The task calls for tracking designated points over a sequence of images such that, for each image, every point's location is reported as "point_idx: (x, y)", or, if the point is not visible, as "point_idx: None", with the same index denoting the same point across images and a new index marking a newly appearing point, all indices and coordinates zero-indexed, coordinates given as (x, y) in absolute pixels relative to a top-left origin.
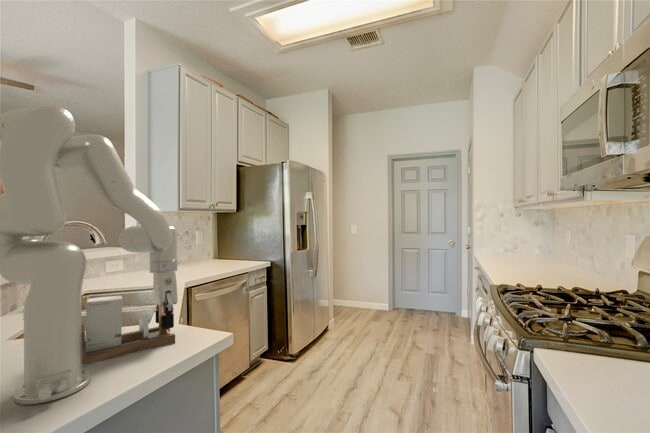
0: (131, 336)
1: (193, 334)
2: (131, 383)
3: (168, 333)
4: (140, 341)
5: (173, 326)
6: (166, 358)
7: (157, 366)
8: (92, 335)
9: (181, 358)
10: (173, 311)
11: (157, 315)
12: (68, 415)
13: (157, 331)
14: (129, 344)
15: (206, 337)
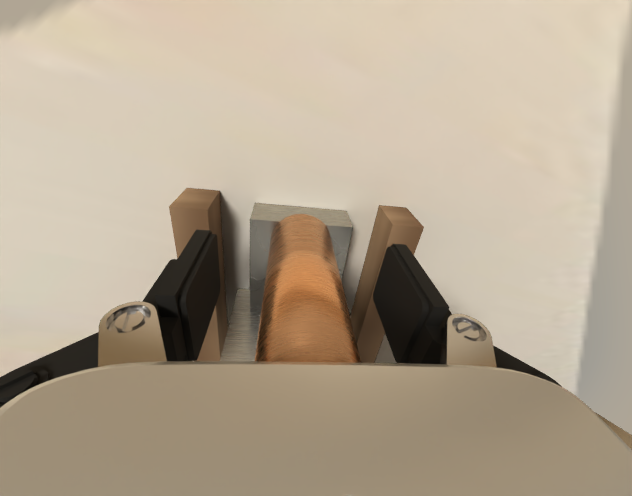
0: (221, 340)
1: (359, 60)
2: (561, 365)
3: (342, 233)
4: (367, 346)
5: (406, 246)
6: (522, 281)
7: (545, 313)
8: None
9: (581, 248)
10: (491, 338)
11: (205, 324)
12: None
13: (253, 262)
14: None
15: (500, 18)
